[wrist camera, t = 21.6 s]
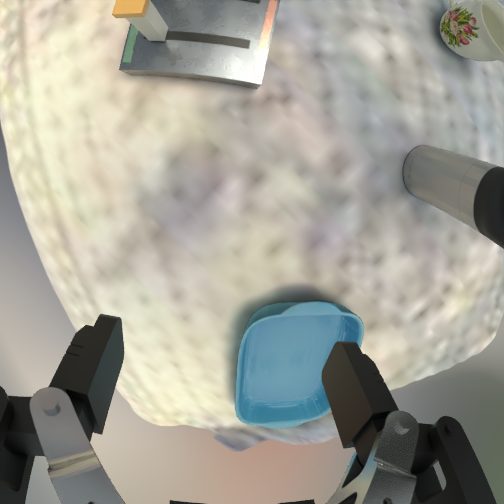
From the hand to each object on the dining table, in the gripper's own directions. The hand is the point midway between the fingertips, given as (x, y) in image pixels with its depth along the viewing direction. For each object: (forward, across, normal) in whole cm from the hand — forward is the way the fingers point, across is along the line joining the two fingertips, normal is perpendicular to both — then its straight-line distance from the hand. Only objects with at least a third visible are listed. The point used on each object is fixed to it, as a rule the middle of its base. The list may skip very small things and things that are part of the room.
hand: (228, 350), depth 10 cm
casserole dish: (+35, -18, +33) cm, 51 cm away
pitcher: (+34, -33, -37) cm, 60 cm away
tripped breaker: (+29, +12, -18) cm, 36 cm away
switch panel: (+34, +7, -24) cm, 42 cm away
